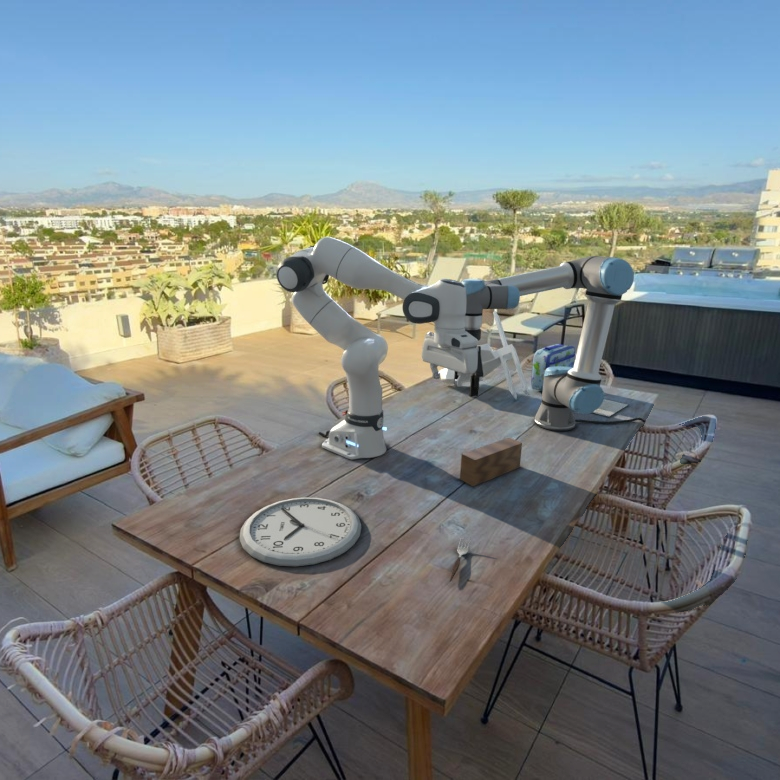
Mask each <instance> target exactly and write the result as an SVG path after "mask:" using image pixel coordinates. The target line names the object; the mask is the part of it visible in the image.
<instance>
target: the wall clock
mask: <svg viewBox="0 0 780 780" xmlns="http://www.w3.org/2000/svg"><path fill="white" fill-rule="evenodd" d="M361 531H362V523H361V520H360V518H359V516H358V514H356V512H354V510H353V509H351V508H350V507H348V506H346V505H345V504H343V503H340V502H337V501H335V500H333V499H332V500H331V499H326V498H321V497H295V498H289V499H284V500H279V501H276V502H274V503H271V504H268V505H266V506H264V507H262V508H261V509H258V510H257V511H255V512H253V514H252V515H250V516H249V517H248V518H247V519H246V520H245V521H244V522H243V524H242V527H241V528H240V531H239V542H240V544H241V547H242V549H243V550H244V551H245V552H246V553H247V554H248V555H249V556H251V557H252V558H254V559H255V560H258V561H260V562H262V563H266V564H269V565H274V566H278V567H279V566H280V567H303V566H304V567H305V566H311V565H312V566H313V565H316V564H320V563H323V562H324V563H325V562H327V561H331V560H333V559H335V558H337V557H339V556H341V555H343V554H344V553H346V552H347V551H349V550H350V549H351V548H352V547H353V546H355V544H356V543H357V541H358V540H359V538H360V537H361Z"/></svg>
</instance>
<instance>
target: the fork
mask: <svg viewBox="0 0 780 780" xmlns="http://www.w3.org/2000/svg"><path fill="white" fill-rule="evenodd" d="M465 538H466V540H465ZM462 539H463V540H462ZM468 539H469V541H468ZM470 545H471V537H469V538H468V536H464V537H463V535H461V536H460V540H459V543H458V545H457V549H456V550H457V553H458V557H457V558H456V560H455V562H454V564H453V566H452V571H451V575H450V577H449V582H451V581H452V580H453V578H454V576H455V575H456V573H457V571H458V569H459V567H460V563H461V558H462V556H465V555H468V553H469V551H470Z"/></svg>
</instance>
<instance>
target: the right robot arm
mask: <svg viewBox="0 0 780 780" xmlns="http://www.w3.org/2000/svg"><path fill="white" fill-rule="evenodd" d="M634 280H635V274H634V269H633V267H632V265H631V264H630V263H629V261H627V260H626V259H623V258H620V257H616V256H614V257H612V256H600V255H590V256H584V257H580V258H577V259H573V260H572V259H571V260H569V261H564V262H562V263H561V264H560V265H558V266H554V267H548V268H545V269H539V270H535V271H529V272H525V273H520V274H515V275H511V276H506V277H500V278H496V279H490V280H483V279H478V278H464V279H463V280H462V281H461V283H462V284H463V285H464V286H465V289H466V299H467V304H466V314H465V317H464V322H465V331H467V332H468V333H469V334H471V335H472V336H473V337H475V338H476V339H477V340H478V342H479V341H481V338H482V329H481V328H482V327H483V311H484V310H506V311H507V310H513V309H516V308H517V307H518V305H519V304H520V300H521V297H523V296H528V295H533V294H538V293H543V292H547V291H552V290H557V289H562V288H563V289H564V290H571V289H584V290H585V293H584V294H585V295H584V296H585V298H586V299H587V306H586V311H585V315H584V319H583V324H582V328H581V332H580V336H579V341H578V345H577V349H576V352H575V360H574V366H573V367H561V366H557V367H549V368H547V369H546V370H545V373H544V382H543V391H541V392H542V394H541V402H540V405H539V407H538V410H537V411H536V413H535V417H534V424H535V425H536V426H537V427H539V428H542V429H544V430H549V431H556V432H567V431H572V430H574V429H575V428H576V423H586V424H599V425H600V424H601V425H613V424H614V425H615V424H616V425H617V424H622V423H632V422H635V421H641V422H643V423H646V422H647V421H646V420H645V419H644V418H642V417H635V418H630V419H622V420H621V419H620V420H614V421H613V420H611V421H610V420H609V421H608V420H607V421H605V420H604V421H602V420H589V419H587V420H586V419H576V418H575V417H576V416H575V413H577V414H581V415H589V414H592V412H594V411H595V410H597V409H598V408H599V407H600V406H601V404H602V402H603V400H604V399H605V391H604V389H603V388H602V386H601V382H602V376H601V375H600V373H599V372H600V368H601V364H602V361H603V360H602V359H603V355H604V351H605V348H606V343H607V339H608V335H609V331H610V326H611V323H612V319H613V314H614V310H615V307H616V305H617V304H618V303H620V302H621V301H622V298H623V295H624V294H626V293H627V292H628V291H629V290H630V289H631V288H632V286H633V283H634ZM475 348H476V349H477V352H478V364H477V370H476V372H475V373H473V374H472V375H471V382H469V397H479V389H480V382H479V378H480V377H483V368H482V360H481V347H480V346H478V345H477V346H475ZM457 374H458V372H457V371H455V373H454V384H455V380H457V379H458V377H459V376H458V375H457ZM483 378H484V377H483ZM454 384H453V385H454ZM574 412H575V413H574Z"/></svg>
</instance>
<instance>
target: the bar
mask: <svg viewBox="0 0 780 780" xmlns="http://www.w3.org/2000/svg"><path fill="white" fill-rule="evenodd" d="M522 451H523V442H521V441H519V440H516V439H514V438H511V437H507V438H503V439H501V440H497V441H494V442H492V443H489V444H486V445H483V446H480V447H477V448H474V449H472V450H469V451H466V452H463V453H461V456H460V457H461V458H460V472H459V473H460V474H459V480H460V481H461V482H464V483H466V484H467V485H470V486H471V487H475V486H477V485H480V484H482V483H486V482H487V481H490V480H492V479H495V478H497V477H500V476H502V475H504V474H507V473H509V472H511V471H512V472H513V471H515V470H517V469H519V468H520V467H521V460H522V459H521V458H522Z"/></svg>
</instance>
